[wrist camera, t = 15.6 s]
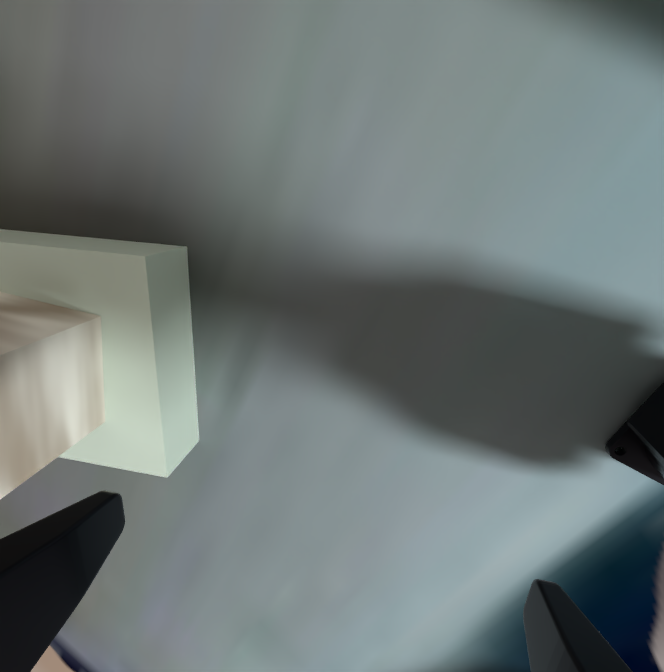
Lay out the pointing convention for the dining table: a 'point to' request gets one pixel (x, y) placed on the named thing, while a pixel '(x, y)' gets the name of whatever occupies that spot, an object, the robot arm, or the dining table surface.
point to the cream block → (46, 384)
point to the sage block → (121, 338)
